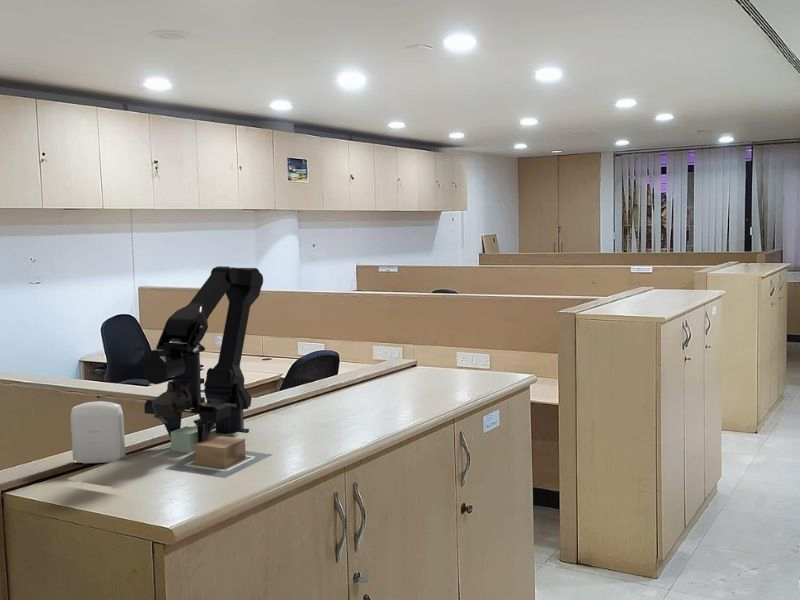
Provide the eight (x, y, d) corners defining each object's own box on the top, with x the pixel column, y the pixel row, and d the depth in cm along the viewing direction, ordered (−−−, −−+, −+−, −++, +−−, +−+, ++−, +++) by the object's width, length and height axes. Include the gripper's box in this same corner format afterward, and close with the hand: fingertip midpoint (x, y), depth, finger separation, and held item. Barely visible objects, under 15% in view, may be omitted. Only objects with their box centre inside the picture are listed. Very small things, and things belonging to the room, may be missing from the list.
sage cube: (186, 448, 167) (186, 426, 167) (205, 451, 165) (205, 428, 165) (171, 455, 163) (170, 431, 162) (190, 457, 161) (189, 434, 160)
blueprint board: (216, 451, 165) (216, 446, 165) (272, 459, 159) (272, 453, 159) (165, 473, 150) (165, 468, 150) (225, 482, 145) (225, 477, 145)
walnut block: (217, 454, 159) (216, 435, 159) (245, 458, 156) (245, 439, 156) (195, 464, 153) (194, 444, 152) (224, 468, 150) (223, 448, 150)
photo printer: (69, 465, 156) (67, 405, 155) (76, 459, 160) (73, 400, 159) (122, 463, 157) (120, 403, 156) (127, 457, 161) (125, 399, 160)
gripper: (123, 378, 159) (126, 453, 160) (197, 386, 151) (200, 463, 153) (161, 369, 169) (163, 439, 171) (231, 375, 162) (233, 449, 163)
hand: (188, 447), depth 164 cm, fingers open, 6 cm apart
